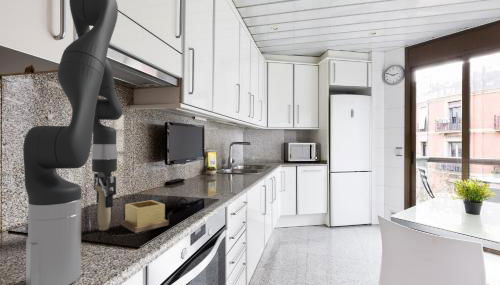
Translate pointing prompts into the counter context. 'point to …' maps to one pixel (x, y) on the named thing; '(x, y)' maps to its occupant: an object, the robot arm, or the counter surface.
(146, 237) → the counter surface
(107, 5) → the robot arm
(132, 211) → the sleeve block
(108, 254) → the counter surface
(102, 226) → the handle
